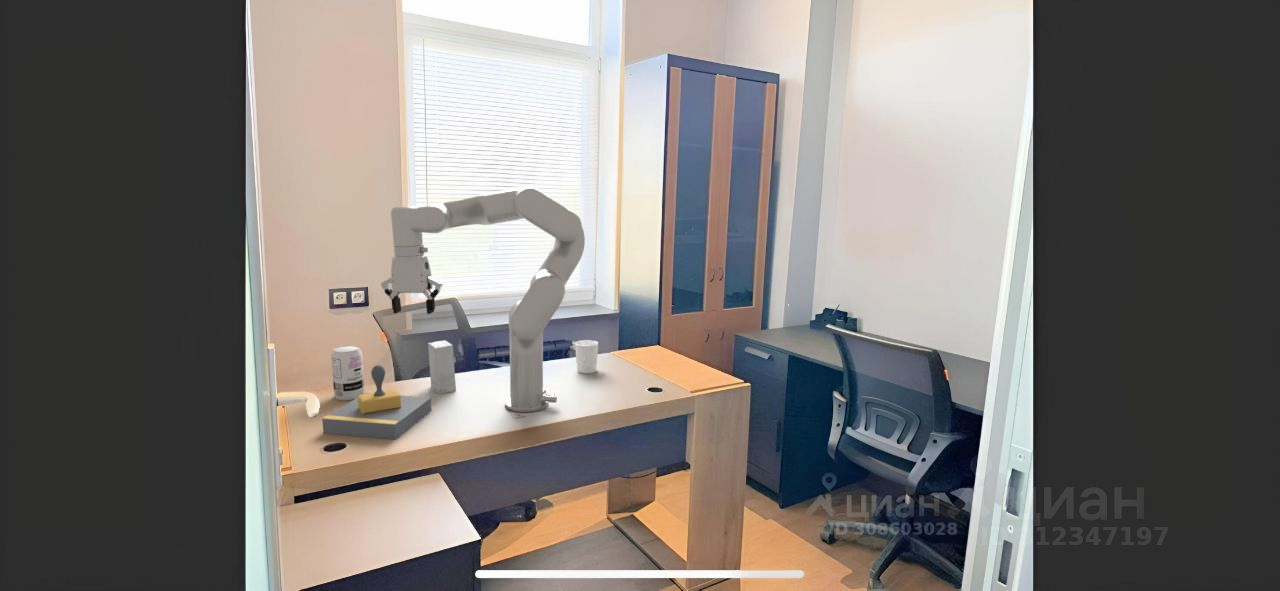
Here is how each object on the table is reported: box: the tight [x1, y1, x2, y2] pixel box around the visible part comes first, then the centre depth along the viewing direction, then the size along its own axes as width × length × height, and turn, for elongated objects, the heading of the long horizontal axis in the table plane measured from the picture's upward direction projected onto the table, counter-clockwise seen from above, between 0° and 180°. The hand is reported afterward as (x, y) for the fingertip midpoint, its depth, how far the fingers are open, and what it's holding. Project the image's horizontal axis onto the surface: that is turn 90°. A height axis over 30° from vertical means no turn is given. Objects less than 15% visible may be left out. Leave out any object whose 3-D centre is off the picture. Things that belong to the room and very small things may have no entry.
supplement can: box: [330, 345, 365, 402], centre depth 190 cm, size 8×8×15 cm
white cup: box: [575, 339, 599, 374], centre depth 221 cm, size 8×8×10 cm
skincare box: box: [427, 339, 457, 395], centre depth 198 cm, size 8×6×15 cm
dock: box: [321, 392, 433, 440], centre depth 172 cm, size 20×20×4 cm
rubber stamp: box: [358, 364, 402, 414], centre depth 171 cm, size 10×6×12 cm, turn 123°
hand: (414, 312), depth 177 cm, fingers open, 9 cm apart
